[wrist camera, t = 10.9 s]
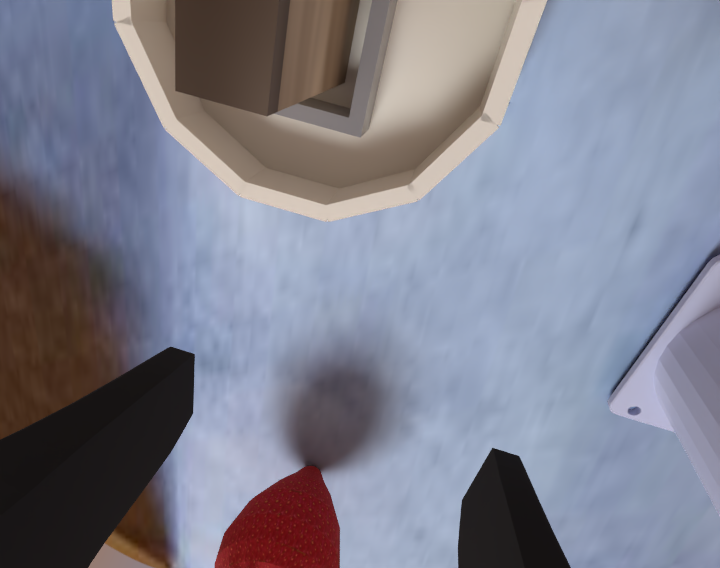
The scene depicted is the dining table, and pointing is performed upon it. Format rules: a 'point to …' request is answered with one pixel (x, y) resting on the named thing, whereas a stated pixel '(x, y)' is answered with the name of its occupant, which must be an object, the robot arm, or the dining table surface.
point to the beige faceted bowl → (352, 105)
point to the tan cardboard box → (262, 50)
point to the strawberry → (285, 527)
